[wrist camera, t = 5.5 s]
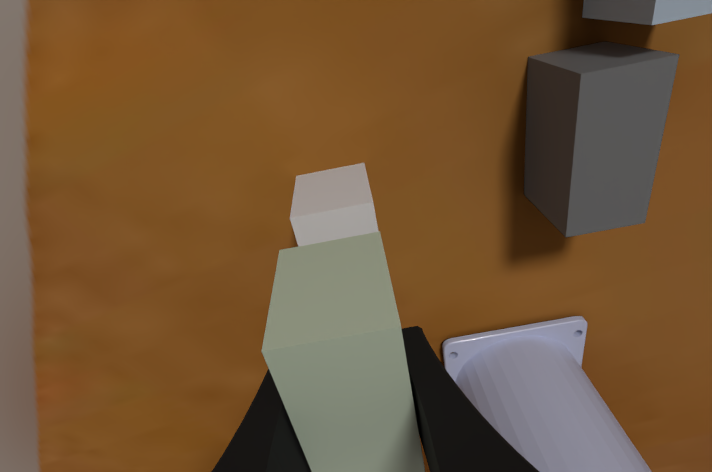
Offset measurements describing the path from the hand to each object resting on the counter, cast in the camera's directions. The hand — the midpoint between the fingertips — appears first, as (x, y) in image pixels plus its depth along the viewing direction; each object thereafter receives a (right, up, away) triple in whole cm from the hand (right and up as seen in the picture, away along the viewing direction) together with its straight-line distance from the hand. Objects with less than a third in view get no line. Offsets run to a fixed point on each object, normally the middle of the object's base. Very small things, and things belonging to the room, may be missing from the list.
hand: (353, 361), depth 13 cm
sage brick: (0, +1, +1) cm, 2 cm away
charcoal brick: (+9, +9, +5) cm, 13 cm away
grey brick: (0, +4, +7) cm, 8 cm away
